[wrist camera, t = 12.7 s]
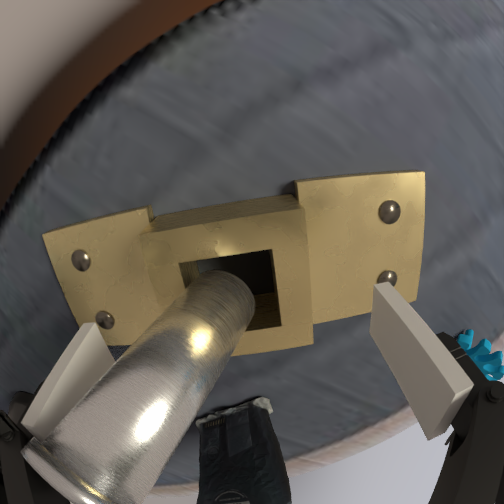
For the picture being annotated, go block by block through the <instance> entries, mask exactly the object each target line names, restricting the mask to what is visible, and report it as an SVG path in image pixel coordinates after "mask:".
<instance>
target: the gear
mask: <svg viewBox="0 0 504 504" xmlns="http://www.w3.org/2000/svg"><path fill="white" fill-rule="evenodd" d="M473 333H474V332H473V330H471V329H468V330H466V332H465V335H464V334H460V335H459V336H458V339H457V342H458V344H459V345H460V346H461V348H463V349H464V351H465V352H466V353H467V355H469V357H470V358H471V359H472V360H473V362H474V363H475V364H476V365H477V367H478V368H479V369H480V370H481V372H482V373H483V374H484V375H485V377H486V378H487V379H488V380H489V381H491V380H496V381H497V380H500V379H501V378H502V377H503V375H504V366H502V365H501V364H502V357H503V354H502V351H496V352H494V353H492V354H489V353H490V351H491V343H490V342H489V341H488V340H487V339H482V340H481V341H480V342H479V344H478V345H477V346H476V347H474V348H471V343H472V338H473ZM470 348H471V349H470ZM488 374H491V375H492V376H493V377H491V376H489V375H488Z"/></svg>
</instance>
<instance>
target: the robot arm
mask: <svg viewBox="0 0 504 504" xmlns="http://www.w3.org/2000/svg"><path fill="white" fill-rule="evenodd" d="M369 333H370V335H371V337H372V338H373V340H374V342H375V343H376V345H377V347H378V348H379V350H380V352H381V354H382V355H383V357H384V359H385V361H386V362H387V364H388V366H389V368H390V369H391V371H392V373H393V375H394V377H395V378H396V380H397V382H398V384H399V386H400V388H401V389H402V391H403V393H404V395H405V397H406V399H407V401H408V402H409V404H410V406H411V408H412V410H413V412H414V414H415V416H416V418H417V420H418V422H419V424H420V426H421V428H422V430H423V432H424V434H425V436H426V438H427V440H431V439H433V438H435V437H437V436H439V435H441V434H443V433H445V432H446V430H447V428H448V427H449V426H450V424H451V425H452V426H453V428H454V431H453V432H452V434H451V435H450V436H449V438H448V439H447V441H446V443H445V445H447V444H448V443H449V442H450V443H449V447H448V451H447V454H446V457H445V461H444V464H443V467H442V470H441V473H440V476H439V478H438V481H437V484H436V486H435V489H434V492H433V494H432V496H431V499H430V501H429V503H428V504H494V503H495V504H504V384H503V383H502V382H500V381H496V380H491V381H489V380H488V379H487V378H486V377H485V375H484V374H483V373H482V372H481V370H480V369H479V368H478V367H477V365H476V364H475V363H474V362H473V360H472V359H471V358H470V357H469V355H467V353H466V352H465V351H464V349H463V348H461V346H460V345H459V344H458V342H457V341H456V340H455V339H454V338H453V337H451V336H450V335H448V334H446V333H444V332H442V333H439V334H436V335H435V334H434V333H433V331H432V330H431V329H430V328H429V327H428V325H427V324H426V323H425V322H424V321H423V320H422V318H421V317H420V316H419V315H418V314H417V313H416V311H415V310H414V309H413V308H412V307H411V306H410V305H409V303H408V302H407V301H406V300H405V299H404V298H403V297H402V296H401V295H400V293H399V292H398V291H397V290H396V289H395V288H394V287H393V286H392V285H391V284H390V283H389V282H384V283H379V284H375V285H374V288H373V301H372V313H371V323H370V332H369ZM114 363H115V360H114V358H113V356H112V355H111V353H110V351H109V349H108V347H107V345H106V343H105V341H104V339H103V337H102V335H101V333H100V331H99V329H98V327H97V325H96V323H95V322H93V323H83V325H82V326H81V328H80V329H79V330H78V332H77V333H76V335H75V336H74V337H73V339H72V340H71V342H70V343H69V345H68V346H67V348H66V349H65V351H64V352H63V354H62V355H61V357H60V358H59V360H58V361H57V363H56V364H55V366H54V367H53V369H52V371H51V372H50V374H49V375H48V377H47V378H46V379H45V380H44V381H43V382H42V383H41V384H40V385H39V386H38V388H37V390H36V391H35V393H34V394H35V395H31V394H29V393H25V392H18V393H16V394H15V396H14V397H13V399H12V401H11V402H10V405H9V412H8V415H7V414H6V413H5V412H4V411H3V410H0V504H70V501H69V500H68V499H67V498H65V497H64V496H63V495H62V494H60V493H59V492H58V491H57V490H56V489H54V488H53V487H52V486H51V485H50V484H49V483H48V482H47V481H46V480H44V479H43V478H42V477H41V476H40V475H39V474H38V473H37V472H36V471H35V470H34V468H33V467H32V466H31V465H30V464H29V463H28V462H27V461H26V459H25V458H24V457H23V455H22V454H21V450H22V449H23V448H24V447H25V446H26V445H27V443H28V442H29V441H30V440H31V439H32V438H33V437H35V438H36V439H37V440H38V441H39V442H40V443H42V442H43V440H44V439H45V438H46V437H47V436H48V435H49V434H50V433H51V431H52V430H53V429H54V428H55V427H56V426H57V425H58V424H59V422H60V421H61V420H62V419H63V418H64V417H65V416H66V415H67V414H68V413H69V411H70V410H71V409H72V408H73V407H74V406H75V405H76V404H77V403H78V402H79V400H80V399H81V398H82V397H83V396H84V395H85V394H86V393H87V392H88V391H89V390H90V389H91V387H92V386H93V385H94V384H95V383H96V382H97V381H98V380H99V379H100V378H101V377H102V376H103V375H104V373H105V372H106V371H107V370H108V369H109V368H110V367H111V366H112V365H113V364H114Z"/></svg>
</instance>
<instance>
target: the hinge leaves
mask: <svg viewBox="0 0 504 504" xmlns="http://www.w3.org/2000/svg"><path fill="white" fill-rule="evenodd" d="M294 185H295V194H296V199H295V198H294V197H293V196H292V195H291V194H284V195H277V196H270V197H263V198H256V199H250V200H243V201H237V202H231V203H225V204H219V205H213V206H207V207H202V208H196V209H190V210H185V211H180V212H174V213H169V214H164V215H159V216H157V217H156V218H155V219H154V215H153V211H152V207H151V205H147V206H142V207H138V208H133V209H129V210H125V211H121V212H116V213H112V214H108V215H104V216H100V217H96V218H92V219H89V220H85V221H81V222H77V223H74V224H70V225H66V226H63V227H59V228H56V229H52V230H49V231H48V232H46V233H44V234H43V235H42V236H43V239H44V242H45V245H46V248H47V251H48V254H49V257H50V260H51V262H52V265H53V268H54V271H55V273H56V276H57V278H58V281H59V283H60V286H61V288H62V291H63V293H64V295H65V298H66V300H67V302H68V304H69V307H70V309H71V311H72V313H73V315H74V317H75V319H76V322H77V324H78V326H79V328H81V326H82V325H83V323H93V322H95V323H96V325H97V327H98V329H99V331H100V333H101V335H102V337H103V339H104V341H105V343H106V345H107V346H111V345H132V344H133V343H134V342H135V341H136V340H137V339H138V338H139V337H140V335H141V334H142V333H143V332H144V331H145V330H146V329H147V328H148V327H149V326H150V325H151V324H152V323H153V322H154V321H155V320H156V319H157V318H158V317H159V316H160V315H161V314H162V313H163V312H164V311H165V310H166V309H167V308H168V307H169V306H170V304H171V303H172V302H173V301H174V300H175V299H176V298H177V297H178V296H179V295H180V294H181V293H182V292H183V291H184V290H185V289H186V288H187V287H188V286H189V285H190V284H191V283H192V282H193V281H194V280H195V279H196V278H197V277H198V276H199V275H200V274H199V270H198V266H197V262H196V260H202V259H209V258H215V257H222V256H228V255H235V254H241V253H248V252H254V251H261V250H267V249H269V254H270V261H271V269H272V276H273V284H274V292H270V293H264V294H257V295H253V297H254V300H255V312H254V315H253V317H252V319H251V321H250V323H249V324H248V326H247V328H246V330H245V332H244V333H243V335H242V337H241V339H240V341H239V342H238V344H237V346H236V348H235V350H234V351H233V353H232V355H231V356H238V355H246V354H254V353H261V352H268V351H275V350H281V349H287V348H293V347H299V346H305V345H310V344H313V324H316V323H321V322H326V321H332V320H337V319H341V318H346V317H351V316H355V315H360V314H364V313H369V312H372V301H373V288H374V285H375V284H379V283H384V282H389V283H390V284H391V285H392V286H393V287H394V288H395V289H396V290H397V291H398V292H399V293H400V295H401V296H402V297H403V298H404V299H405V300H406V301H407V302H408V303H409V302H413V301H416V298H417V291H418V284H419V277H420V269H421V259H422V249H423V236H424V217H425V172H424V171H419V170H403V171H386V172H372V173H359V174H347V175H337V176H327V177H318V178H309V179H300V180H294Z"/></svg>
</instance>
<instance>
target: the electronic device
mask: <svg viewBox="0 0 504 504" xmlns="http://www.w3.org/2000/svg"><path fill="white" fill-rule="evenodd" d="M272 412H273V410H272V407H271V404H270V400H269V399H267V398H264V397H260V398H257V399H255V400H252V401H249V402H247V403H244V404H242V405H239V406H237V407H234V408H228V409H225V410H222V411H217V412H216V413H215V414H216V415H212V414H211V415H208V416H207V417H204V418H201V419H198V420H197V421H196V426H197V428H198V430H199V433H200V449H199V451H200V456H199V462H200V479H199V495H198V499H197V504H291V503H292V501H291V491H290V485H289V478H288V476H287V471H286V467H285V463H284V460H283V456H282V452H281V449H280V444H279V442H278V439H277V436H276V434H275V433H274V430H273V427H272V424H271V420H270V417H269V414H270V413H272Z"/></svg>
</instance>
